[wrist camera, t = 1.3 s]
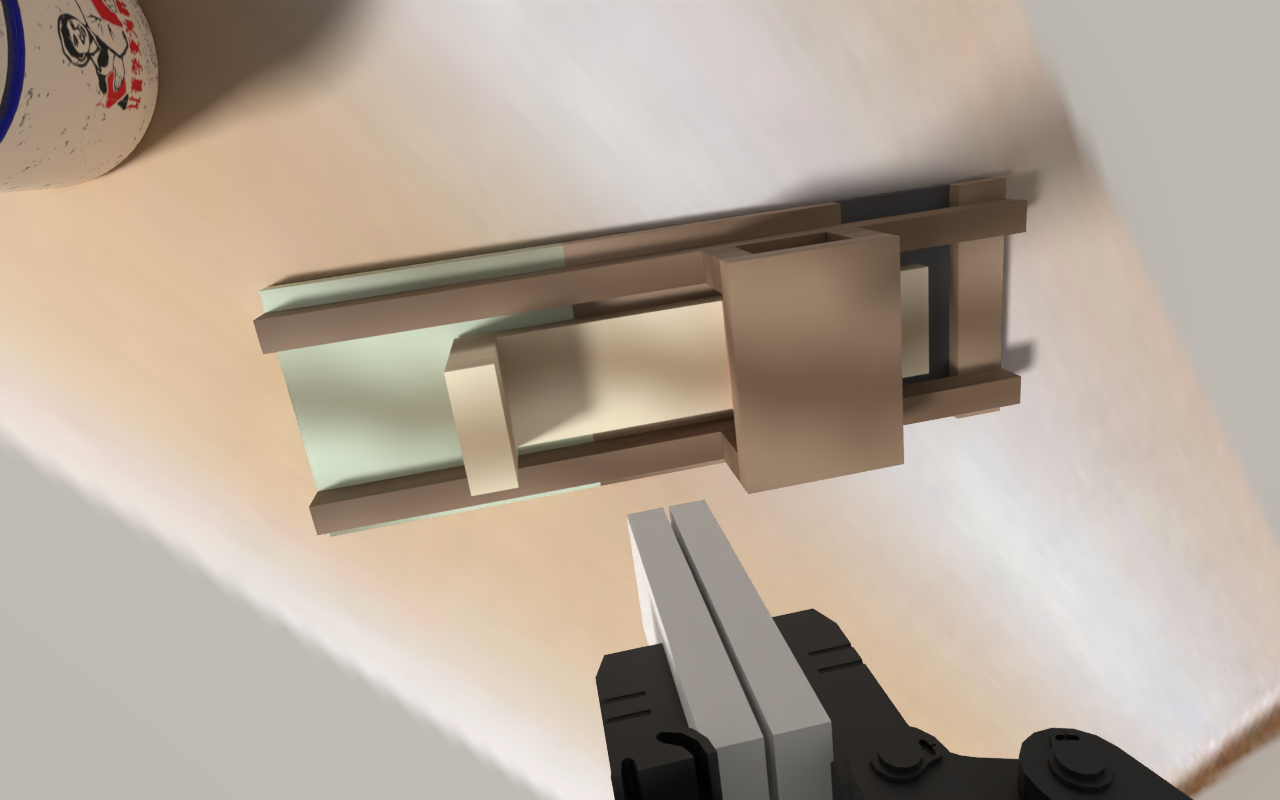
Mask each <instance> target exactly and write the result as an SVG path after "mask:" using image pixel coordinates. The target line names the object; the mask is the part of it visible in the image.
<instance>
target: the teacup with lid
mask: <svg viewBox="0 0 1280 800" xmlns="http://www.w3.org/2000/svg"><path fill="white" fill-rule="evenodd" d="M158 80H159V78H158V62H157V55H156V49H155V45H154V41H153V37H152V34H151V31H150V28H149V25H148V23H147V20H146V18H145V16H144V13H143V11H142V9H141V7H140V5H139V3H138V2H137V0H0V193H1V192H15V191H28V190H42V189H56V188H63V187H69V186H73V185H77V184H81V183H84V182H86V181H89V180H92V179H94V178H97V177H99V176H101V175H102V174H104V173H106V172H108V171H109V170H111V169H112V168H114V167H115V166H117V165H118V164H119V163H121V162H122V161H123V160H124V159H125V158H126V157H127V156H128V155H129V154H130V153H131V152H132V151H133V150H134V149H135V147H136V146H137V145H138V143H139V142H140V140H141V139H142V137H143V135H144V134H145V132H146V130H147V128H148V126H149V123H150V121H151V119H152V116H153V112H154V109H155V105H156V100H157V94H158Z"/></svg>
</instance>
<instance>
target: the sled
mask: <svg viewBox="0 0 1280 800" xmlns="http://www.w3.org/2000/svg"><path fill="white" fill-rule="evenodd" d="M900 283H901V336H902V378H905V377H911V376H916V375H922V374H927V373H929V305H928V267H927V266H923V265H919V264H910V265H904V266H900ZM444 375H445V380H446V384H447V389H448V393H449V398H450V402H451V407H452V411H453V416H454V420H455V425H456V429H457V434H458V438H459V443H460V447H461V452H462V456H463V461H464V465H465V470H466V474H467V479H468V483H469V488H470V492H471V496H476V495H481V494H486V493H492V492H497V491H503V490H508V489H513V488H519V482H518V449H517V447H522V446H528V445H533V444H539V443H544V442H550V441H556V440H561V439H567V438H572V437H578V436H583V435H589V434H594V433H600V432H605V431H611V430H617V429H622V428H628V427H633V426H639V425H644V424H650V423H655V422H661V421H666V420H672V419H678V418H683V417H689V416H694V415H700V414H705V413H711V412H716V411H722V410H728V409H733V398H732V388H731V377H730V367H729V356H728V346H727V335H726V325H725V314H724V304H723V295H719V296H713V297H707V298H701V299H695V300H688V301H682V302H676V303H670V304H664V305H658V306H651V307H645V308H639V309H633V310H627V311H621V312H615V313H608V314H602V315H596V316H590V317H584V318H578V319H571V320H565V321H559V322H553V323H547V324H541V325H535V326H528V327H522V328H516V329H510V330H504V331H498V332H491V333H485V334H479V335H473V336H467V337H461V338H455V339H454V340H453V344H452V347H451V350H450V354H449V357H448V360H447V364H446V367H445V371H444ZM733 410H734V409H733Z"/></svg>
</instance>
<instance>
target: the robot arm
mask: <svg viewBox="0 0 1280 800" xmlns="http://www.w3.org/2000/svg"><path fill="white" fill-rule="evenodd" d="M669 512H670V520H671V525H670V523H669V521H668V518H667V516H666V514H665V511H664V509H663V508H659V509H654V510H649V511H644V512H638V513H633V514H628V515H627V521H628V527H629V534H630V541H631V547H632V554H633V561H634V567H635V574H636V581H637V587H638V594H639V600H640V607H641V614H642V620H643V627H644V631H645V634H646V638H647V641H648V645H649V646H645V647H641V648H636V649H631V650H627V651H622V652H617V653H613V654H608V655H604V658H603V660H602V663H601V665H600V668H599V670H598V673H597V675H596V684H597V690H598V696H599V702H600V708H601V714H602V720H603V726H604V732H605V738H606V744H607V750H608V756H609V762H610V768H611V781H612V786H613V792H614V797H615V800H1193V799H1191V798H1190V797H1188V796H1187V795H1186V794H1184V793H1183V792H1181V791H1180V790H1178V789H1177V788H1176V787H1174V786H1173V785H1171V784H1170V783H1169V782H1167V781H1166V780H1164V779H1163V778H1161V777H1160V776H1159V775H1157V774H1156V773H1154V772H1153V771H1151V770H1150V769H1149V768H1147V767H1146V766H1144V765H1143V764H1141V763H1140V762H1139V761H1137V760H1136V759H1134V758H1133V757H1131V756H1130V755H1129V754H1127V753H1126V752H1124V751H1123V750H1121V749H1120V748H1119V747H1117V746H1115V745H1113V744H1112V743H1110V742H1108V741H1106V740H1104V739H1102V738H1100V737H1099V736H1097V735H1094V734H1090V733H1087V732H1083V731H1079V730H1076V729H1067V728H1049V729H1046V730H1042V731H1038V732H1035V733H1033V734H1032V735H1031V736H1029V737H1028V738H1027V739H1026V740H1025V741H1024V742H1023V743H1022V746H1021V750H1020V754H1019V759H1002V758H977V757H969V756H961V755H957V754H954V753H950V752H949V751H948V749H947V748H946V747H944V746H943V745H942V744H941V743H940V742H939V741H938V740H937V739H936V738H935V737H934V736H932V735H930V734H928V733H926V732H924V731H922V730H920V729H918V728H915V727H910V726H909V725H908V724H907V723H906V721H905V720H904V719H903V717H902V716H901V714H900V713H899V711H898V710H897V709H896V707H895V706H894V704H893V703H892V701H891V700H890V699H889V697H888V696H887V694H886V693H885V692H884V690H883V689H882V687H881V686H880V684H879V683H878V682H877V680H876V679H875V677H874V676H873V674H872V673H871V672H870V670H869V669H868V667H867V666H866V664H863V662H862V659H861V657H860V656H859V655H858V653H857V652H856V650H855V649H854V647H851V643H850V642H849V640H848V639H847V637H846V636H845V635H844V633H843V632H842V630H841V629H840V627H839V626H838V625H837V623H835V622H834V621H832V620H830V619H829V618H827V617H826V616H824V615H823V614H821V613H819V612H818V611H816V610H815V609H809V610H804V611H799V612H795V613H790V614H785V615H781V616H776V617H771V615H770V613H769V612H768V610H767V608H766V606H765V605H764V603H763V601H762V599H761V598H760V596H759V594H758V592H757V591H756V589H755V587H754V585H753V584H752V582H751V580H750V578H749V577H748V575H747V573H746V571H745V570H744V568H743V566H742V564H741V563H740V561H739V559H738V557H737V556H736V554H735V552H734V550H733V549H732V547H731V545H730V543H729V542H728V540H727V538H726V536H725V535H724V533H723V531H722V529H721V528H720V526H719V524H718V522H717V521H716V519H715V517H714V515H713V514H712V512H711V510H710V508H709V507H708V505H707V503H706V501H705V500H701V501H695V502H690V503H685V504H680V505H675V506H669Z"/></svg>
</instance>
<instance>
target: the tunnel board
mask: <svg viewBox="0 0 1280 800" xmlns="http://www.w3.org/2000/svg"><path fill="white" fill-rule="evenodd" d="M1026 215H1027V201H1025V200H1013V199H1005V178H986V179H979V180H972V181H966V182H959V183H953V184H946V185H939V186H933V187H926V188H919V189H913V190H906V191H900V192H893V193H886V194H880V195H873V196H866V197H860V198H853V199H846V200H840V201H833V202H827V203H820V204H813V205H807V206H800V207H793V208H787V209H780V210H773V211H767V212H760V213H754V214H747V215H740V216H734V217H727V218H720V219H714V220H707V221H701V222H694V223H687V224H681V225H674V226H667V227H661V228H654V229H647V230H641V231H634V232H628V233H621V234H614V235H608V236H601V237H594V238H588V239H581V240H575V241H568V242H561V243H555V244H548V245H541V246H535V247H528V248H521V249H515V250H508V251H502V252H495V253H488V254H482V255H475V256H468V257H462V258H455V259H448V260H442V261H435V262H429V263H422V264H415V265H409V266H402V267H395V268H389V269H382V270H376V271H369V272H362V273H356V274H349V275H342V276H336V277H329V278H322V279H316V280H309V281H303V282H296V283H289V284H283V285H276V286H269V287H266V288H264V289H262V290H260V291H259V293H260V296H261V300H262V303H263V307H264V310H265V314H263V315H262V316H260V317H258V318H257V319H255V320H254V321H253V322H254V325H255V328H256V332H257V335H258V338H259V342H260V345H261V348H262V352H263V354H267V353H274V352H277V354H278V358H279V361H280V365H281V368H282V371H283V375H284V378H285V382H286V385H287V388H288V392H289V395H290V399H291V402H292V405H293V409H294V412H295V416H296V419H297V422H298V426H299V429H300V433H301V436H302V439H303V443H304V446H305V450H306V453H307V457H308V460H309V463H310V467H311V470H312V474H313V477H314V480H315V484H316V487H317V491H318V492H317V494H316V496H315V498H314V499H313V501H312V503H311V505H310V506H309V509H310V512H311V515H312V519H313V522H314V525H315V529H316V532H317V535H321V534H327V533H330V535H331V536H336V535H342V534H347V533H352V532H358V531H363V530H368V529H373V528H379V527H384V526H389V525H395V524H400V523H405V522H411V521H416V520H421V519H427V518H432V517H437V516H443V515H448V514H453V513H458V512H464V511H469V510H474V509H480V508H485V507H490V506H496V505H501V504H506V503H512V502H517V501H522V500H528V499H533V498H538V497H543V496H549V495H554V494H559V493H565V492H570V491H575V490H581V489H586V488H591V487H597V486H602V485H607V484H612V483H618V482H623V481H628V480H634V479H639V478H644V477H650V476H655V475H660V474H666V473H671V472H676V471H682V470H687V469H692V468H697V467H703V466H708V465H713V464H719V463H724V462H726V463H727V465H728V466H729V467H730V469H731V470H732V472H733V473H734V474H735V476H736V477H737V479H738V480H739V481H740V483H741V484H742V486H743V487H744V489H745V490H746V491H747V493H748V494H751V493H756V492H761V491H767V490H772V489H777V488H782V487H787V486H792V485H797V484H803V483H808V482H813V481H818V480H823V479H828V478H834V477H839V476H844V475H849V474H854V473H859V472H865V471H870V470H875V469H880V468H885V467H890V466H895V465H901V464H904V444H903V425H907V424H913V423H918V422H923V421H929V420H934V419H939V418H945V417H950V416H954V417H956V418H963V417H968V416H974V415H979V414H984V413H990V412H995V411H1000V407H1003V406H1009V405H1014V404H1019V403H1020V390H1021V376H1019V375H1016V374H1014V373H1012V372H1009V371H1007V370H1005V369H1002V368H1001V336H1002V297H1003V257H1004V235H1010V234H1016V233H1022V232H1026ZM910 264H919V265H923V266H927V267H928V305H929V373H927V374H922V375H916V376H911V377H905V378H902V336H901V283H900V266H904V265H910ZM719 295H723V304H724V314H725V325H726V335H727V346H728V356H729V367H730V377H731V388H732V398H733V409H734V410H733V409H728V410H722V411H716V412H711V413H705V414H700V415H694V416H689V417H683V418H678V419H672V420H666V421H661V422H655V423H650V424H644V425H639V426H633V427H628V428H622V429H617V430H611V431H605V432H600V433H594V434H589V435H583V436H578V437H572V438H567V439H561V440H556V441H550V442H544V443H539V444H533V445H528V446H522V447H517V449H518V482H519V488H513V489H508V490H503V491H497V492H492V493H486V494H481V495H476V496H471V492H470V488H469V483H468V479H467V474H466V470H465V465H464V461H463V456H462V452H461V447H460V443H459V438H458V434H457V429H456V425H455V420H454V416H453V411H452V407H451V402H450V398H449V393H448V389H447V384H446V380H445V375H444V371H445V367H446V364H447V360H448V357H449V354H450V350H451V347H452V344H453V340H454V339H455V338H461V337H467V336H473V335H479V334H485V333H491V332H498V331H504V330H510V329H516V328H522V327H528V326H535V325H541V324H547V323H553V322H559V321H565V320H571V319H578V318H584V317H590V316H596V315H602V314H608V313H615V312H621V311H627V310H633V309H639V308H645V307H651V306H658V305H664V304H670V303H676V302H682V301H688V300H695V299H701V298H707V297H713V296H719Z"/></svg>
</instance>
